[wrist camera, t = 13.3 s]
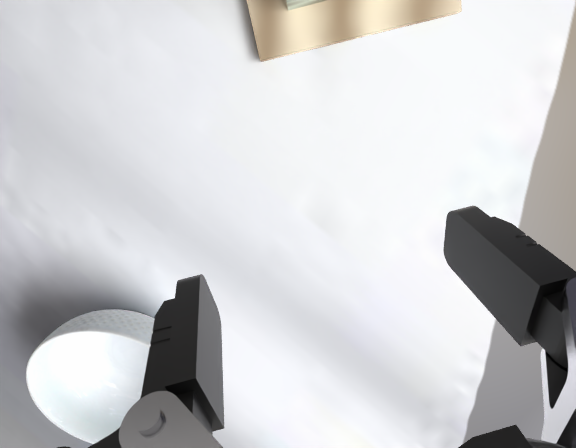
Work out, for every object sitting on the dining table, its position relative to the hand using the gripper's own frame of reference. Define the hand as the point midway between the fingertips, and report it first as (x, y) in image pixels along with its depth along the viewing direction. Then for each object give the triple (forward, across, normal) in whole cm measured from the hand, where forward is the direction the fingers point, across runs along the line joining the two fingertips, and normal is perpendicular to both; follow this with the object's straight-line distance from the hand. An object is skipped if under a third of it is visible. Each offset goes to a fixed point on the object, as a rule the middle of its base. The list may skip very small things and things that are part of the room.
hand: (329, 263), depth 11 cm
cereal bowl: (+22, +20, +25) cm, 39 cm away
